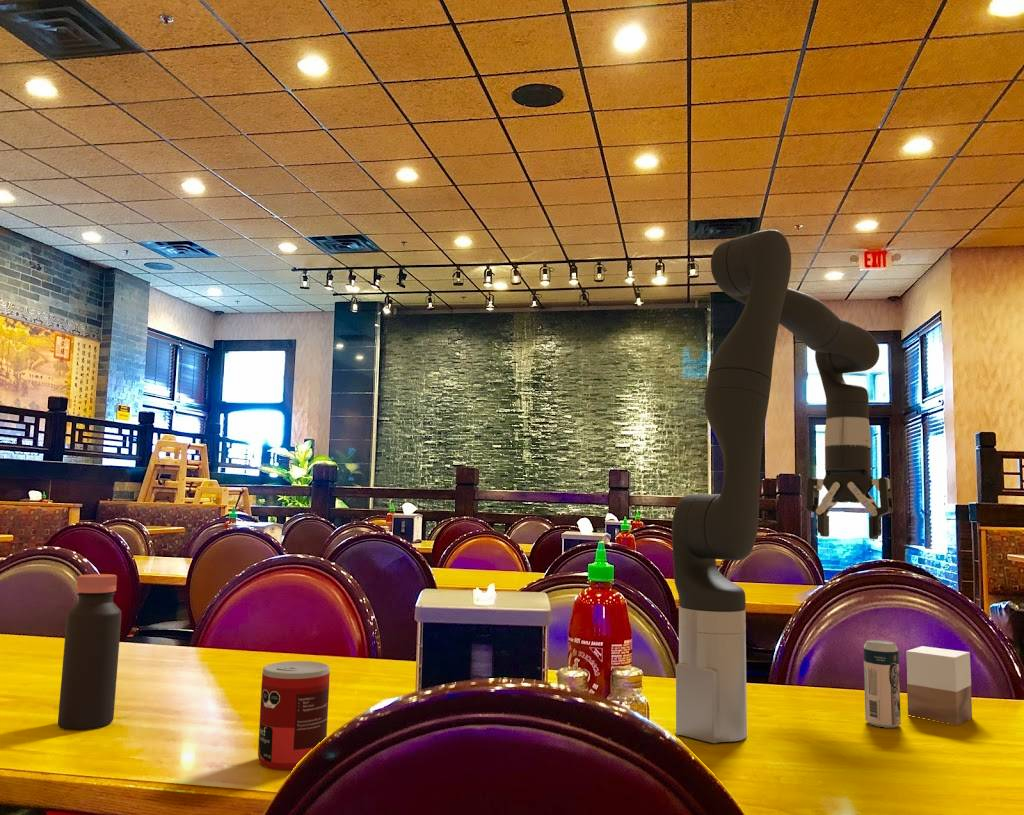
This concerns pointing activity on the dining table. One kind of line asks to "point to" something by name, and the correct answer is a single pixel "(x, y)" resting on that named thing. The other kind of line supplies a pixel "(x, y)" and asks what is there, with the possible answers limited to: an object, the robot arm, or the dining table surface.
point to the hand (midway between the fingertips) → (848, 537)
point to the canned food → (292, 712)
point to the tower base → (939, 704)
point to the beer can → (882, 683)
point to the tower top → (938, 668)
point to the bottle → (90, 655)
